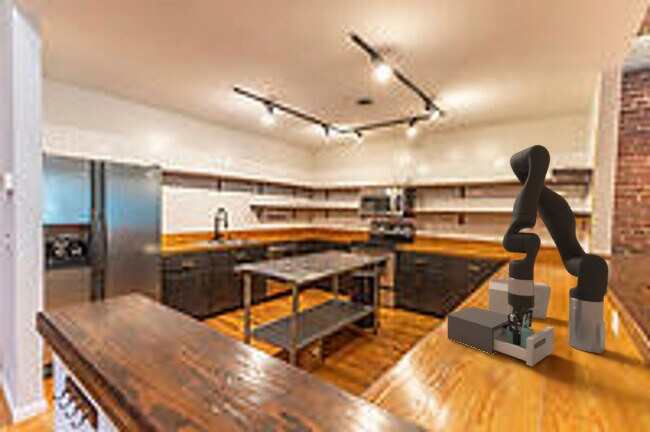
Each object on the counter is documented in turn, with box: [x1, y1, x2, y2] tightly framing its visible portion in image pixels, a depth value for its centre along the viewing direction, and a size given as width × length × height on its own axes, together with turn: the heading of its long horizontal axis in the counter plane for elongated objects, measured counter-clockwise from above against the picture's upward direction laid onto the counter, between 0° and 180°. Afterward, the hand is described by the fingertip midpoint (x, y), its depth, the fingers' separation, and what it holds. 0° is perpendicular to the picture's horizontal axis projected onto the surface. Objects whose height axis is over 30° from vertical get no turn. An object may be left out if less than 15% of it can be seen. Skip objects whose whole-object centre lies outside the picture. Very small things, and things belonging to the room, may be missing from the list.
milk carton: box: [487, 277, 509, 315], centre depth 128 cm, size 7×7×19 cm
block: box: [507, 326, 535, 348], centre depth 99 cm, size 6×5×5 cm
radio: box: [498, 267, 552, 320], centre depth 139 cm, size 22×8×25 cm, turn 62°
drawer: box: [494, 325, 555, 367], centre depth 100 cm, size 16×18×8 cm
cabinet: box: [447, 306, 509, 355], centre depth 110 cm, size 16×18×9 cm
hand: (520, 342), depth 99 cm, fingers closed on block, 5 cm apart
